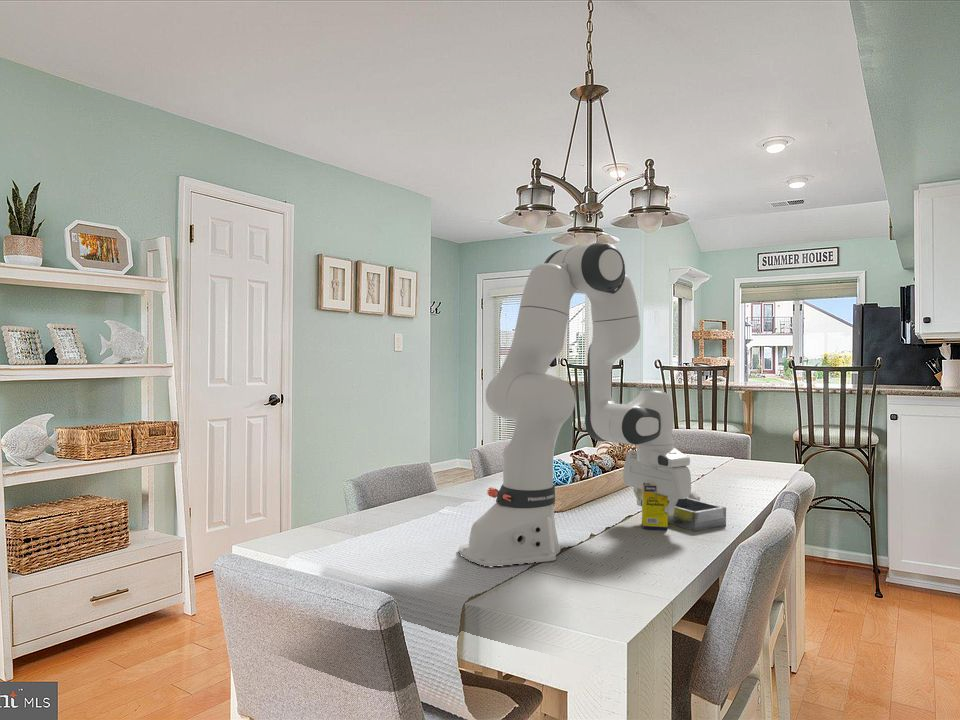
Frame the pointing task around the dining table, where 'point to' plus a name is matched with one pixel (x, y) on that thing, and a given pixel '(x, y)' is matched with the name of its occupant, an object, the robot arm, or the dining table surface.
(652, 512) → the supplement box
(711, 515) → the tray
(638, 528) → the dining table surface
